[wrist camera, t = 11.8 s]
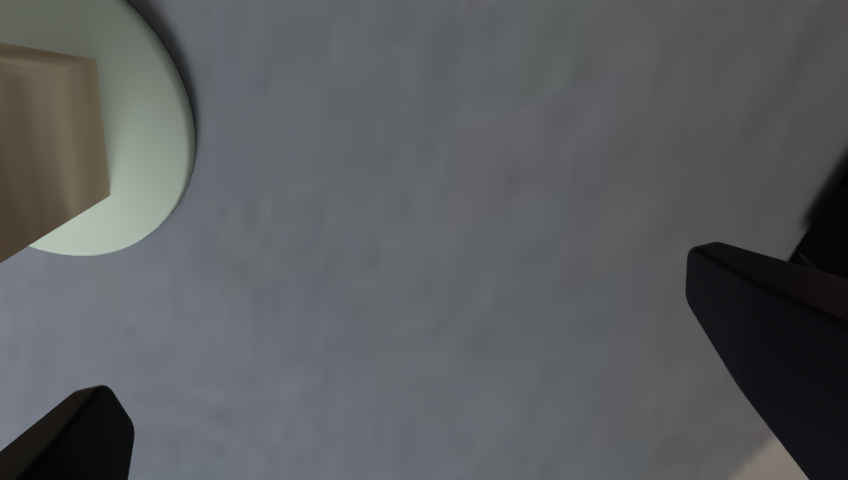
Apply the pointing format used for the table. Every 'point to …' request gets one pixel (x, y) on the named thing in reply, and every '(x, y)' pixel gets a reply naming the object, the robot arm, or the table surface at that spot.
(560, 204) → the table surface
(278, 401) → the table surface
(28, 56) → the maple block
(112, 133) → the sage mat
